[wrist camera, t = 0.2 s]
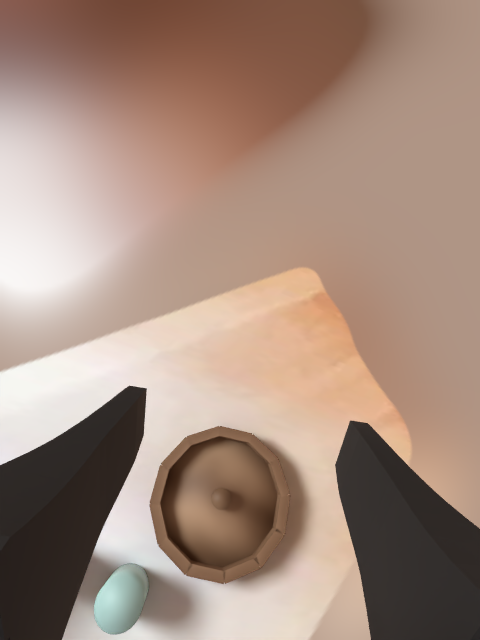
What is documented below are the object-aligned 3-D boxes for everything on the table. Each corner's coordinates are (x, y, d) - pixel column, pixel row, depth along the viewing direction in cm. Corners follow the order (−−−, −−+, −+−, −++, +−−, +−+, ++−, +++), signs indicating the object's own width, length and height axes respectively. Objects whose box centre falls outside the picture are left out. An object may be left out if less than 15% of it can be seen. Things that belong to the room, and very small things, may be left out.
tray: (270, 587, 37) (276, 595, 34) (135, 558, 36) (132, 563, 34) (291, 445, 42) (297, 444, 40) (174, 418, 42) (174, 415, 40)
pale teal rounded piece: (141, 617, 35) (134, 639, 30) (100, 608, 34) (86, 629, 30) (154, 568, 36) (149, 581, 32) (114, 559, 36) (104, 572, 31)
